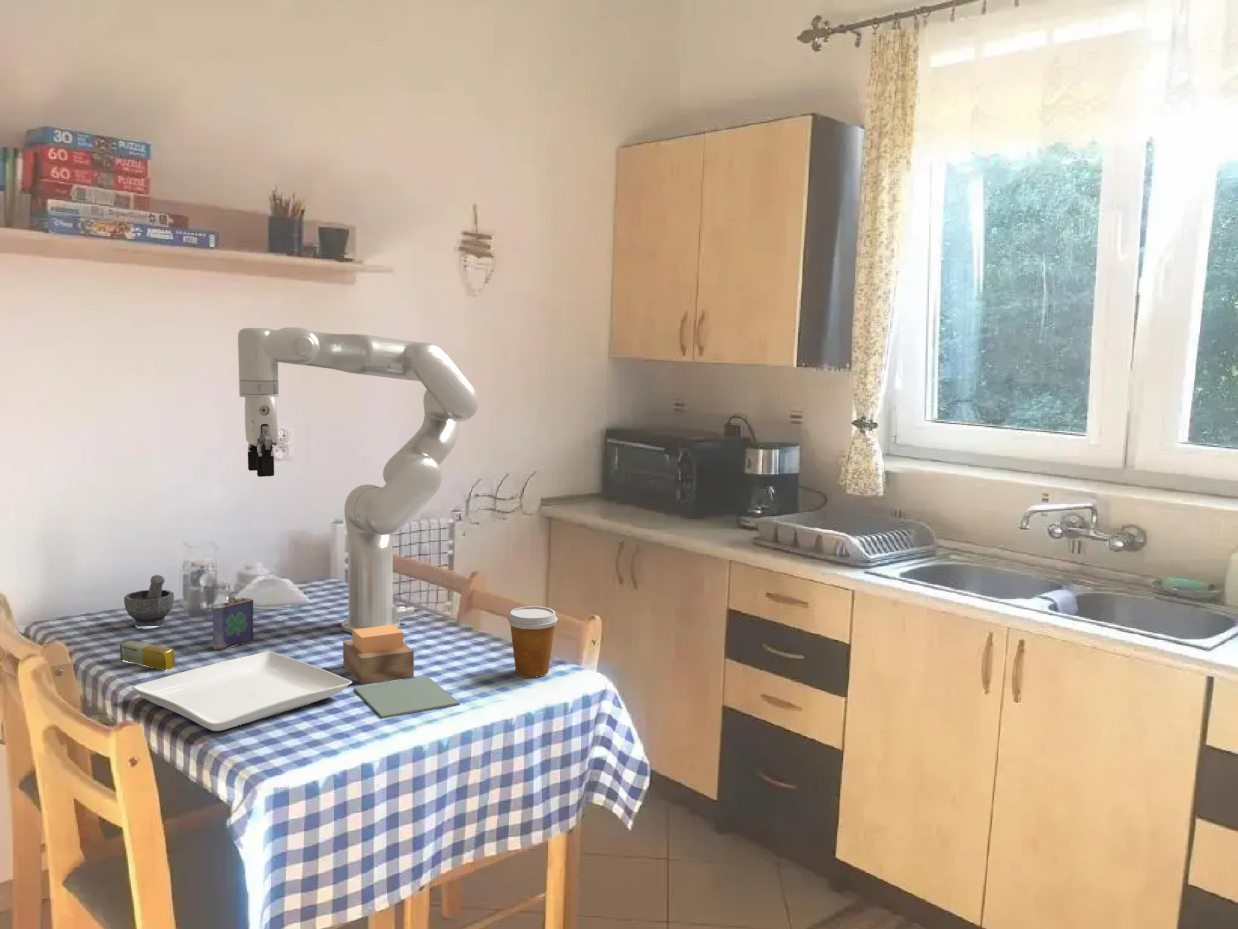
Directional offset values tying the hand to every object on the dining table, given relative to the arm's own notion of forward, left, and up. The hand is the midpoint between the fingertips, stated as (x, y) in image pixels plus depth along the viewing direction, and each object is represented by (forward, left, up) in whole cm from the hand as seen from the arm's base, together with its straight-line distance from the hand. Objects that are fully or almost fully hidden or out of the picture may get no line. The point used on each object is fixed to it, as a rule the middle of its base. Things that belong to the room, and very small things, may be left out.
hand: (261, 473), depth 211 cm
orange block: (-15, +29, -31) cm, 45 cm away
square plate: (+11, +33, -36) cm, 50 cm away
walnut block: (-15, +29, -36) cm, 48 cm away
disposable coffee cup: (-41, +43, -36) cm, 69 cm away
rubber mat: (-15, +45, -36) cm, 59 cm away
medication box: (+23, +5, -36) cm, 43 cm away
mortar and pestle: (+19, -23, -36) cm, 47 cm away
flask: (+6, -1, -36) cm, 36 cm away
